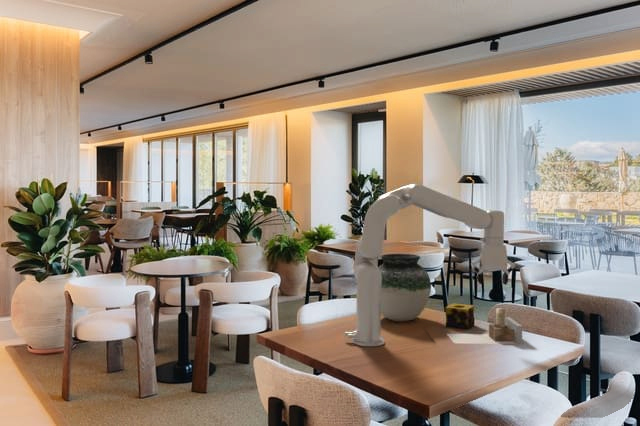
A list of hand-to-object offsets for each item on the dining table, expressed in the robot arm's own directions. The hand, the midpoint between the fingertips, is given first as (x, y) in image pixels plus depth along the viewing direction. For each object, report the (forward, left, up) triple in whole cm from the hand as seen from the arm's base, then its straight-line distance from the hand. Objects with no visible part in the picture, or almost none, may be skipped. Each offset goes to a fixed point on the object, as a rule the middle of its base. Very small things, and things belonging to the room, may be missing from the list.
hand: (492, 283), depth 207 cm
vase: (-32, +36, -23) cm, 53 cm away
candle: (-8, +19, -23) cm, 31 cm away
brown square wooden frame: (+3, -1, -22) cm, 22 cm away
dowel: (+3, -1, -22) cm, 22 cm away
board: (-4, -1, -23) cm, 23 cm away
